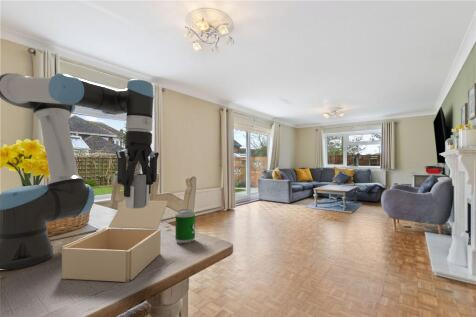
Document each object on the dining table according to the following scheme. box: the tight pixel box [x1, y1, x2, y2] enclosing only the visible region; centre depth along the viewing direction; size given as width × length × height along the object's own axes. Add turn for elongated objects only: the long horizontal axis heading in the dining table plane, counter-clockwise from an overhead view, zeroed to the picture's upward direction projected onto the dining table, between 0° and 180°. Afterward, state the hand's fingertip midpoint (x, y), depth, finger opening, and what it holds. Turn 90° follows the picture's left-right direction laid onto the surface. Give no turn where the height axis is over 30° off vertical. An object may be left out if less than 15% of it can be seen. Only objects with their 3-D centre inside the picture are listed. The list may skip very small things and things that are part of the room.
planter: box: [131, 173, 146, 208], centre depth 73 cm, size 4×4×10 cm
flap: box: [108, 199, 169, 230], centre depth 86 cm, size 18×1×12 cm
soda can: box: [175, 208, 196, 244], centre depth 93 cm, size 8×8×12 cm
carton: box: [61, 227, 162, 283], centre depth 72 cm, size 20×20×8 cm
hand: (137, 206), depth 73 cm, fingers closed on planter, 4 cm apart
